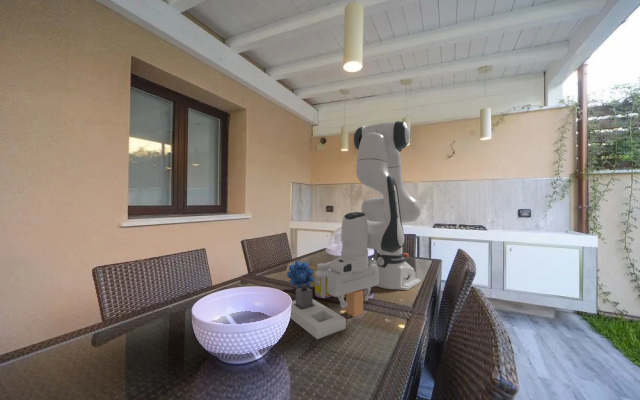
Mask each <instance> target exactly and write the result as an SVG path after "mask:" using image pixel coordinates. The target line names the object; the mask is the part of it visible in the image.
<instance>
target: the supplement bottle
mask: <svg viewBox="0 0 640 400" xmlns="http://www.w3.org/2000/svg"><path fill="white" fill-rule="evenodd" d="M316 268H317V270H316V271H315V272H314V296H315V297H317V298H320V299H328V298H330V297H333V296H332V295H330V294H329V293H328V291H327V279H328V273H329V272H330V270H331V269H329V263H327V262H326V263H325V262H320V263H318V264H317V265H316Z"/></svg>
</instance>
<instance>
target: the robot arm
mask: <svg viewBox="0 0 640 400" xmlns="http://www.w3.org/2000/svg"><path fill="white" fill-rule="evenodd" d="M410 139H411V131H410V128H409V126H408V124H407V123H406V122H405V121H398V120H396V121H387V122H379V123H375V124H370V125H363V126H360V127H358V128H357V129H356V130H355V131H354V133H353V145H354V147H355V149H356V150H357V156H356V166H355V171H356V172H355V173H356V177H357V179H358V181H359V182H360V183H361V184H362V185H364V186H365V187H368V188H371V189H372V190H375V191H377V192H379V193H380V194H381V195H382V197H371V198H367V199H365V200H363V202H362V204H361V207H360V208H361V209H360V211H354V212H348V213H346V214H345V215H344V216H343V217H342V223H341V231H340V233H341V234H340V235H341V236H340V239H341V243H342V244H341V245H342V246H341V247H342V248H341V252H340V256H338V257H336V258H335V259H332V261H329V263H328V264H329V270H330V272H329V273H328V279H327V291H328V293H329V294H330V295H332V296H331V297H334V298H337V299H338V300H339V306H340V308H342V309H344V308H345V309H346V307H347V302H346V300H345V299H344V298H346V294H348V293H352V292H355V291H359V290H363V302H366V301H368V300H369V296H370V293H371V290H372V287H379V288H382V289H385V290H386V289H387V290H399V291H400V290H401V291H409V290H410V289H411V288H413V287H415V286H417V285H419V284H420V283H421V279H420V278H418V277H416V271H415V268H414V267H413V266H412V265H410V264H409V263H408V262H407V261H406V259H409V256H410V255H409V253H406V252H403V246H404V243H405V233H404V227H403V224H402V223H411V222H416V221H417V220H418V219H419V217H420V215H421V205H420V202H419V201H418V200H417V199H416V198H414V197H412V196H411V194H409V193H408V190H407V189H406V188H405V185H404V182H403V181H404V180H403V172H402V171H403V170H402V157H401V152H402V151H403V149H405V148H406V147H407V146H408V145H409V143H410V142H409V141H410ZM368 249H371V250H376V253H375V258H370V259H369V250H368Z"/></svg>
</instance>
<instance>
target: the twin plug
mask: <svg viewBox="0 0 640 400" xmlns="http://www.w3.org/2000/svg"><path fill="white" fill-rule="evenodd" d="M313 296H314V295H313V289H311V288H310V287H307V285H306V284H302V285H301V288H296V289H295V300H296V306H297V307H298V308H299V309H301V310H302V309H306V308H309V307H313V299H314V298H313Z"/></svg>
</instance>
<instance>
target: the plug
mask: <svg viewBox="0 0 640 400" xmlns="http://www.w3.org/2000/svg"><path fill="white" fill-rule="evenodd" d="M363 293H364V289H362V290H359V291H355V292H352V293H348V294H345V301H346V302H347V307H345V313H346V314H347V315H350V316H352V317H353V318H355V317H358V316H361V315H363V314H364V301H363Z"/></svg>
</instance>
